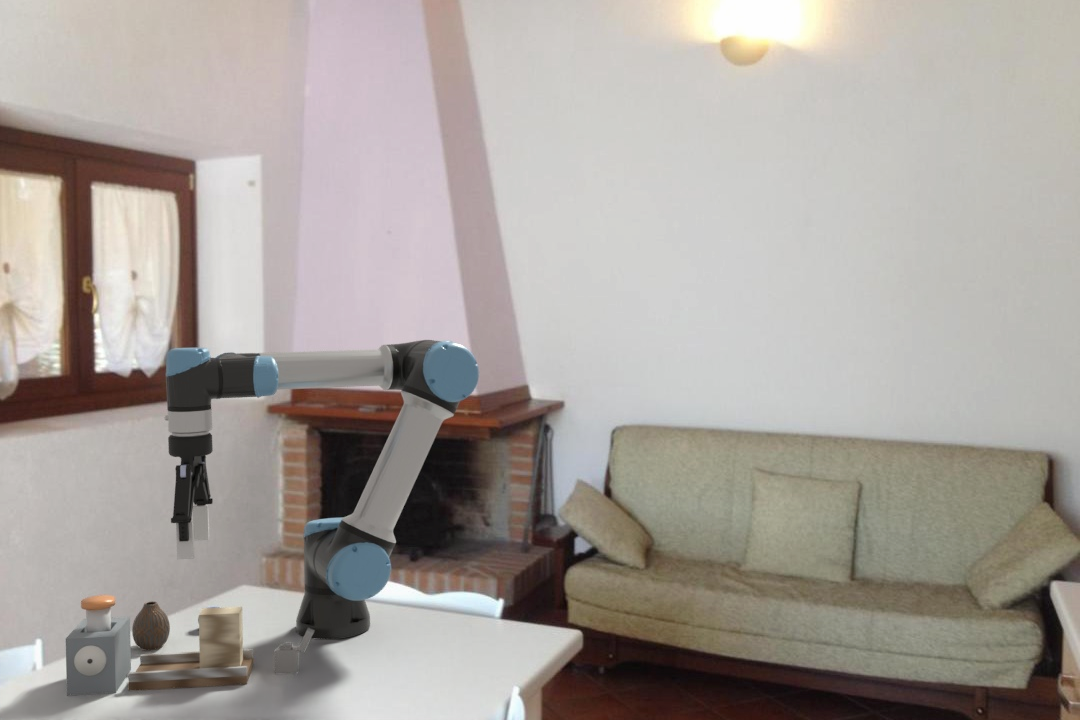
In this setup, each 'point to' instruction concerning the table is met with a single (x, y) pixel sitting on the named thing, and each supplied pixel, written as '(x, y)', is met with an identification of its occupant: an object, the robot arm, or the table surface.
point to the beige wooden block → (220, 637)
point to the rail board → (186, 672)
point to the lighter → (290, 655)
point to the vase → (151, 627)
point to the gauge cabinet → (98, 658)
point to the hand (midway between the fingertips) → (194, 549)
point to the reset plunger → (98, 612)
